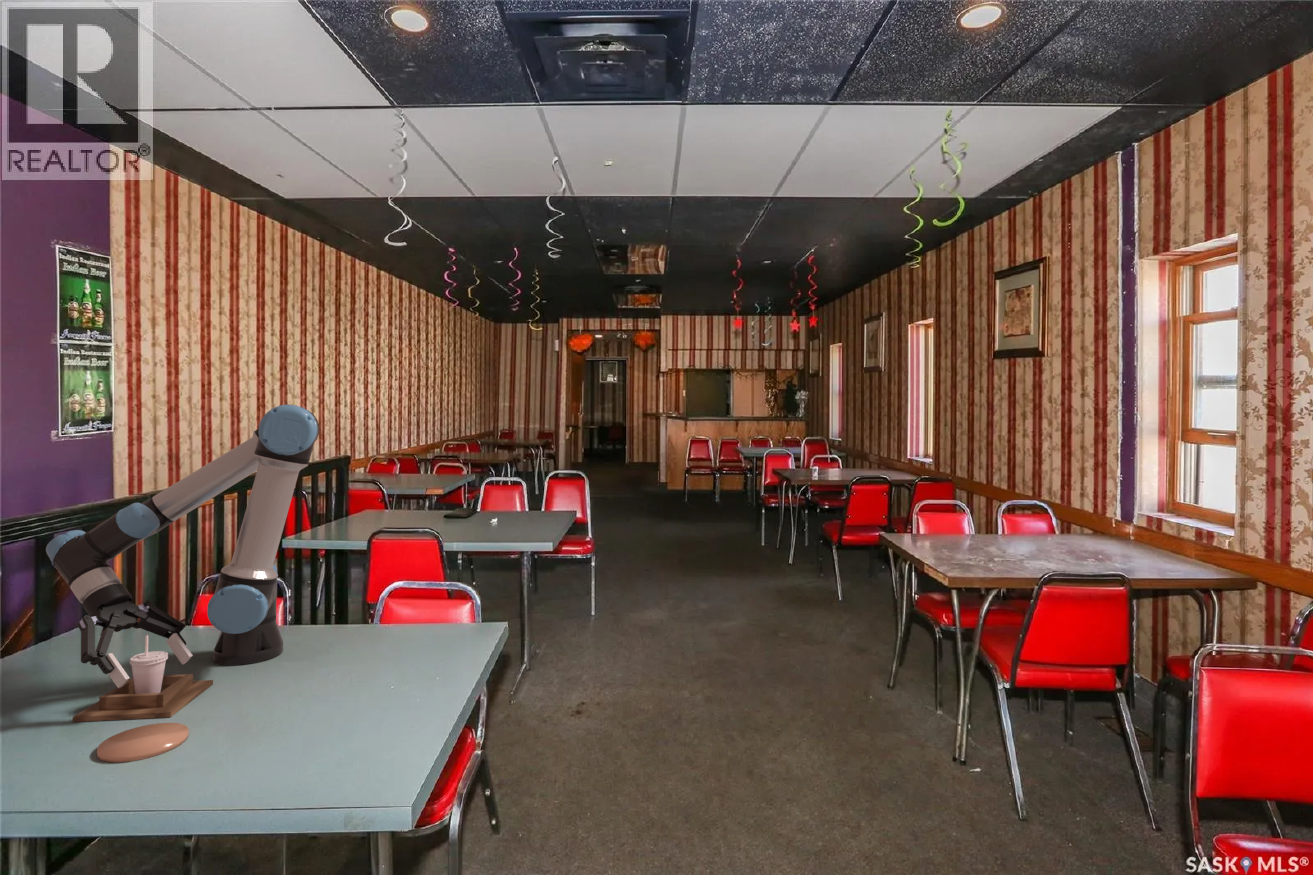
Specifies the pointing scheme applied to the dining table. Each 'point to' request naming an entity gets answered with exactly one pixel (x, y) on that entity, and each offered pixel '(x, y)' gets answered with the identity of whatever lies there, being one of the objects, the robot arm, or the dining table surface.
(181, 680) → the cup holder
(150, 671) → the smoothie
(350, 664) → the dining table surface
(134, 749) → the coaster
